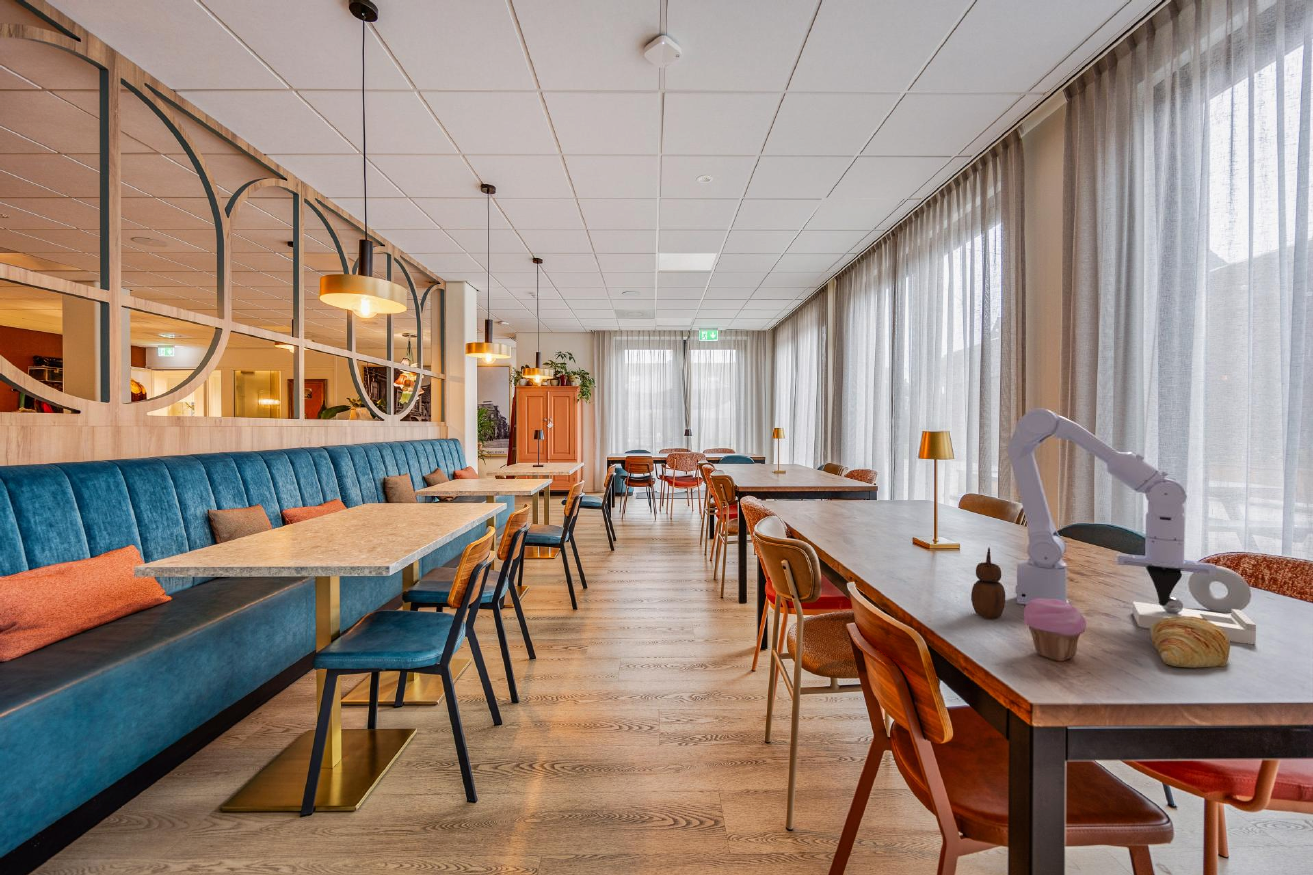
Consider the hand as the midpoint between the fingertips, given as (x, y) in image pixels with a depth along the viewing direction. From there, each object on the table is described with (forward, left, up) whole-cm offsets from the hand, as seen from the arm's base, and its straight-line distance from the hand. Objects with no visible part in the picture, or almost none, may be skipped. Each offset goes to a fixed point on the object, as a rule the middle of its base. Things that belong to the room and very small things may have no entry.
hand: (1163, 604), depth 110 cm
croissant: (+1, -18, -4) cm, 18 cm away
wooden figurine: (-29, -15, -4) cm, 33 cm away
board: (+4, 0, -4) cm, 5 cm away
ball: (+1, 0, 0) cm, 1 cm away
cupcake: (-18, -32, -4) cm, 37 cm away
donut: (+11, +16, -4) cm, 20 cm away
